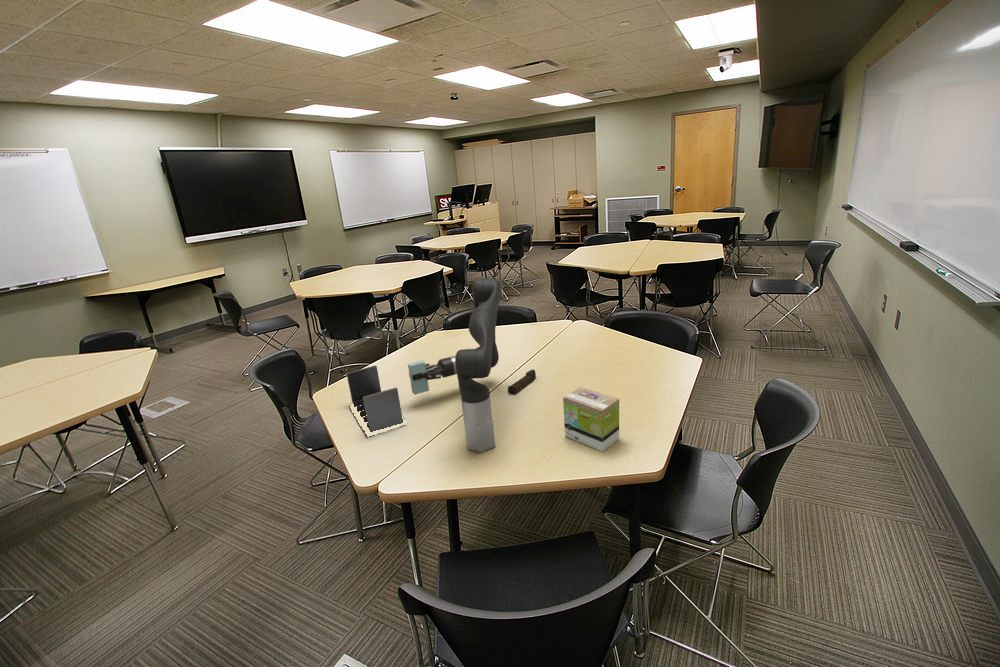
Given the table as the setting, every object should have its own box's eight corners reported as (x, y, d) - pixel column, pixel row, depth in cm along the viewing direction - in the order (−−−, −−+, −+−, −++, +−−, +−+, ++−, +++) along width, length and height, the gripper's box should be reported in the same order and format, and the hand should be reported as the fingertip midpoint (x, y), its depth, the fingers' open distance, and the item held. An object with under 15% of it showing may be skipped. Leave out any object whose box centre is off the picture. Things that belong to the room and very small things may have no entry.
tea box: (563, 437, 151) (561, 396, 147) (581, 425, 158) (580, 385, 153) (602, 453, 141) (601, 409, 136) (620, 439, 147) (620, 397, 143)
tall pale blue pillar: (429, 390, 181) (425, 362, 178) (414, 394, 179) (410, 366, 175) (426, 388, 184) (422, 360, 180) (412, 392, 181) (407, 364, 178)
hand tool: (515, 396, 184) (514, 385, 183) (507, 394, 187) (506, 383, 185) (541, 379, 198) (540, 369, 197) (533, 377, 201) (532, 367, 199)
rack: (407, 424, 168) (401, 387, 164) (366, 438, 162) (359, 399, 157) (385, 396, 194) (379, 364, 189) (348, 407, 187) (341, 373, 182)
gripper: (443, 353, 190) (403, 363, 183) (457, 361, 179) (415, 373, 171) (446, 369, 193) (406, 380, 185) (459, 379, 181) (418, 391, 173)
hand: (411, 376), depth 178 cm, fingers closed on tall pale blue pillar, 3 cm apart
